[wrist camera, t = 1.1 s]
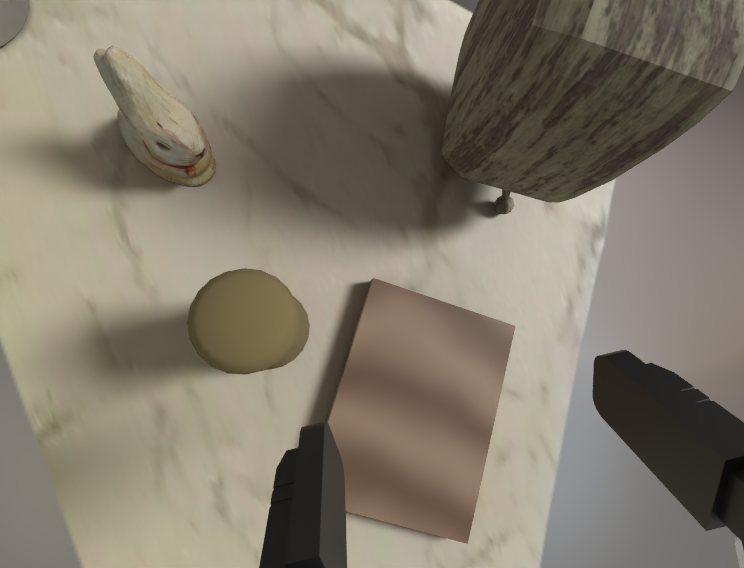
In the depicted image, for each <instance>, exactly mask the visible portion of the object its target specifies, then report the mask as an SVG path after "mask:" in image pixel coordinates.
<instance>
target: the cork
mask: <svg viewBox="0 0 744 568" xmlns="http://www.w3.org/2000/svg"><path fill="white" fill-rule="evenodd" d="M187 323H188V330H189V336H190V340H191V342H192V344H193V345H194V347H195V349H196V351H197V353H198V354H199V355H200V356H201V357H202V358H203V359H204V360H205V361H206V362H208V363H209V364H210V365H211V366H212V367H214V368H217V369H219V370H222V371H224V372H226V373H232V374H250V373H254V372H258V371H263V370H265V369H274V368H278V367H282V366H284V365H286V364H287V363H289V362H291V361H293V360H294V359H295V358H296V357H297V356H298V355H299V354H300V352H301V351H302V350H303V348H304V346H305V344H306V342H307V340H308V335H309V321H308V316H307V313H306V311H305V309H304V308H303V306H302V304H301V303H300V302H299V301H298V300H297V299H296V298H295V297H293V296H292V294H291V292H290V291H289V289H288V287H286V286H285V285H284V284H283V283H282V282H281V281H280V280H279V279H277V278H276V277H275V276H272V275H270V274H268V273H265V272H263V271H261V270H252V269H239V270H234V271H228V272H225V273H223V274H221V275H219V276H217V277H215V278H213V279H211V280H210V281H209V282H208V283H207V284H206V285H205V286H204V287H202V288H201V289H200V290H199V291H198V293H197V295H196V297H195V299H194V300H193V302H192V304H191V306H190V311H189V317H188V322H187Z"/></svg>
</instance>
